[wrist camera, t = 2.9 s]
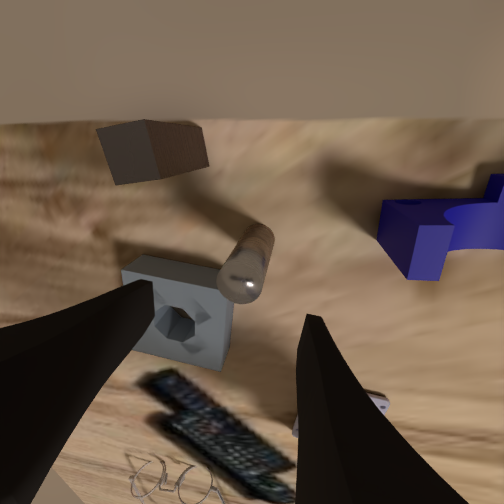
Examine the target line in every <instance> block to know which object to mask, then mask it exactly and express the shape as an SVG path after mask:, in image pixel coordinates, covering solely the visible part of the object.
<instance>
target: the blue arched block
mask: <svg viewBox="0 0 504 504" xmlns="http://www.w3.org/2000/svg"><path fill="white" fill-rule="evenodd" d="M377 241H378V243H379V244H380V245H381V247H382V248H383V249H384V250H385V252H386V253H387V254H388V256H389V257H390V258H391V260H392V261H393V262H394V263H395V265H396V266H397V267H398V269H399V270H400V271H401V272H402V274H403V275H404V276H405V278H406V279H407V280H428V281H439V279H440V276H441V272H442V269H443V265H444V262H445V258H446V255H447V252H448V251H453V250H460V249H500V250H504V174H491V176H490V179H489V182H488V185H487V188H486V191H485V194H484V197H483V198H463V199H404V200H383V203H382V209H381V215H380V222H379V228H378V234H377Z"/></svg>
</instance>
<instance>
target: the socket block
mask: <svg viewBox="0 0 504 504" xmlns="http://www.w3.org/2000/svg"><path fill="white" fill-rule="evenodd" d="M219 271H220V270H219V269H214V268H209V267H204V266H199V265H194V264H189V263H184V262H179V261H173V260H168V259H163V258H158V257H153V256H148V255H141V256H140V257H138V258H137V259H136V260H134V261H133V262H131V263H130V264H128V265H127V266H126V267H124V268H123V269H121V273H122V280H123V286H124V285H126V284H128V283H131V282H134V281H136V280H139V279H143V280H148V281H153V293H154V307H155V317H154V319H153V320H152V322H151V324H150V325H149V327H148V329H147V330H146V332H145V333H144V335H143V336H142V337H141V339H140V340H139V341H138V342H137V344H136V345H135V346H134V347H133V349H132V350H134V351H138V352H143V353H147V354H151V355H155V356H159V357H163V358H167V359H171V360H175V361H179V362H183V363H187V364H191V365H195V366H199V367H203V368H207V369H211V370H215V371H219V372H221V370H222V367H223V364H224V361H225V359H226V356H227V353H228V350H229V347H230V337H231V327H232V317H233V308H234V302H231V301H229V300H228V299H226V298H225V297H224V296H223V295H222V294H221V293H220V291H219V290H218V287H217V283H216V280H217V275H218V273H219ZM171 306H173V307H177V308H182V309H183V310H184V311H185V312H186V313H187V314H188V315H189V316H190V317H191V318H192V319H193V320H192V319H187V318H183V317H181V316H180V315H179V314H178V313H177V312H176V311H175V310H174V309H173V308H172V307H171Z"/></svg>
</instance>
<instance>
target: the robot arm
mask: <svg viewBox="0 0 504 504" xmlns="http://www.w3.org/2000/svg"><path fill="white" fill-rule="evenodd" d="M154 317H155V307H154V293H153V281H148V280H143V279H139V280H136V281H134V282H131V283H128V284H126V285H124V286H121V287H119V288H117V289H114V290H112V291H109V292H107V293H105V294H102V295H100V296H98V297H95V298H93V299H90V300H88V301H85V302H82V303H80V304H77V305H75V306H72V307H69V308H67V309H64V310H61V311H58V312H55V313H52V314H49V315H46V316H43V317H40V318H36V319H33V320H30V321H26V322H22V323H19V324H15V325H11V326H7V327H3V328H0V504H31V502H32V500H33V499H34V497H35V495H36V493H37V491H38V490H39V488H40V486H41V484H42V483H43V481H44V479H45V477H46V475H47V474H48V472H49V470H50V468H51V467H52V465H53V463H54V462H55V460H56V458H57V457H58V455H59V453H60V452H61V450H62V448H63V447H64V445H65V443H66V442H67V440H68V438H69V437H70V435H71V433H72V432H73V430H74V429H75V427H76V425H77V424H78V422H79V421H80V419H81V418H82V416H83V415H84V413H85V411H86V410H87V408H88V407H89V405H90V404H91V402H92V401H93V399H94V398H95V396H96V395H97V393H98V392H99V391H100V389H101V388H102V386H103V385H104V383H105V382H106V381H107V380H108V378H109V377H110V376H111V374H112V373H113V372H114V371H115V369H116V368H117V367H118V366H119V365H120V363H121V362H122V361H123V360H124V358H125V357H126V356H127V355H128V354H129V352H130V351H131V350H132V349H133V347H134V346H135V345H136V344H137V342H138V341H139V340H140V339H141V337H142V336H143V335H144V333H145V332H146V330H147V329H148V327H149V325H150V324H151V322H152V320H153V319H154ZM296 384H297V408H298V414H297V417H296V420H295V423H294V426H293V430H292V435H293V436H294V437H296V438H298V459H297V480H296V500H295V504H469V503H468V502H467V501H466V500H465V499H463V498H462V497H461V496H460V495H459V494H458V493H457V492H456V491H455V490H454V489H453V488H452V487H451V486H450V485H449V484H448V483H447V482H446V481H445V480H444V479H442V478H441V477H440V476H439V475H438V474H437V473H436V472H435V471H434V470H433V468H432V467H431V466H430V465H429V464H428V463H427V462H426V461H425V460H424V459H423V458H422V457H421V456H420V455H419V454H418V453H417V452H416V451H415V450H414V449H413V448H412V447H411V445H410V444H409V443H408V442H407V441H406V440H405V439H404V438H403V437H402V435H401V434H400V433H399V432H398V431H397V430H396V429H395V427H394V426H393V425H392V424H391V423H390V422H389V421H388V419H387V418H386V417H385V416H384V414H385V413H386V411H387V409H388V407H389V406H390V402H389V399H388V398H385V397H381V396H377V395H373V394H369V393H366V391H365V390H364V389H363V387H362V386H361V384H360V383H359V382H358V380H357V379H356V377H355V376H354V374H353V372H352V371H351V369H350V368H349V366H348V365H347V363H346V361H345V360H344V358H343V356H342V355H341V353H340V351H339V350H338V348H337V346H336V344H335V342H334V341H333V339H332V337H331V335H330V333H329V331H328V329H327V327H326V325H325V323H324V321H323V319H322V317H321V316H316V315H311V314H307V315H306V318H305V322H304V326H303V330H302V333H301V337H300V341H299V345H298V349H297V363H296Z"/></svg>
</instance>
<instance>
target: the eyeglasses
mask: <svg viewBox="0 0 504 504" xmlns="http://www.w3.org/2000/svg"><path fill="white" fill-rule="evenodd" d="M150 463H152V461H150V462H148V463H146V464H145V465H144V466H143V467H141V468H140V470H139V471H138V472H137V473H136V475H135V476H133V475H132V476H130V477H129V480H130V482H131V493H132V486H133V488H134V490H135V491H136V493H137V495H138V496H135V495H133V493H132V495H133V497H135V498H137V499H140V501H141V502H142V504H145V503H144V501H143V499H142V498H144V497H146V496H148V495H149V494H151V493H152V492H153V491H154V490H155V489H156V488H157V486H158V485H159V484H160V485H159V490H161V491H168V492H175V491H176V487H178V496H179V487H180V486H181V484H182V482H183V481H184V479H185V475H186V474H187V472H189V471H190V470H191V469H193V468H196V467H197V466H193V465H191V466H189V467H188V468H187V469H186V470H184V472H183V473H182V474H181V475H180V477H179V479H178V481H177V482H176V483H175V488H174V490H168V489H161V488H160V487H161V485H163V483H164V482H163V481H165V485H166V483H167V474H168V473H166V465H165V463H164V462H163V463H162V462H160V463H161V464H162V466H163V464H164V466H165V471H164V466H163V473H162V476H161V478H160V480H159V482H158V484H157V485H156V486H155V487H154V488H153V489H152V490H151V491H150V492H149V493H147V494H146V495H143V496H141V495H140V493H139V491H138V489H137V487H136V485H135V483H134V480H135V478H136V476H137V475H138V473H139V472H140V471H141V470H142V469H143V468H144V467H145V466H147V465H148V464H150ZM206 469H207V470H208V471H209V472H210V470H209V469H208V468H206ZM183 474H184V475H183ZM210 474H211V472H210ZM163 475H164V476H163ZM162 478H163V479H162ZM211 478H212V474H211ZM212 483H213V479H212V482H211V487H210V490H209V492H208V494H207V495H206V496H205V498H204V499H203V500H202V501H200V502H199V503H196V504H201V503H202V502H203V501H204V500H205V499H206V498H207V497H208V495H209V493H210V491H213V492H215V493H217V494H218V496H219V498H220V500H221V502H222V504H225V502H224V500H223V498H222V496H221V493H220V491H219V489H218V488H217V487H214V486H212ZM179 499H180V501H181V502H182V504H186V503H184V502H183V501H182V500H181V498H180V496H179Z"/></svg>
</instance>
